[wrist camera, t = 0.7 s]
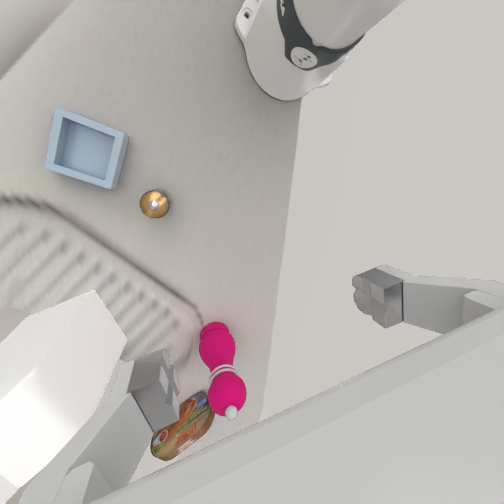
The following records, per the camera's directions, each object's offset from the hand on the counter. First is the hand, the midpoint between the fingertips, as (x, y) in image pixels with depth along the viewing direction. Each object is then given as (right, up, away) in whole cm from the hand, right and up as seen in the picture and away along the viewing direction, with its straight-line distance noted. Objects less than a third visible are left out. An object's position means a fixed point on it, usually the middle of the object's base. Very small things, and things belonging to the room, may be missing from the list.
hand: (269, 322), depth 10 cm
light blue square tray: (-26, +18, +27) cm, 42 cm away
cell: (-17, +12, +32) cm, 38 cm away
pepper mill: (-9, -15, +42) cm, 46 cm away
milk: (-32, -11, +34) cm, 49 cm away
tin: (-17, -33, +45) cm, 59 cm away
